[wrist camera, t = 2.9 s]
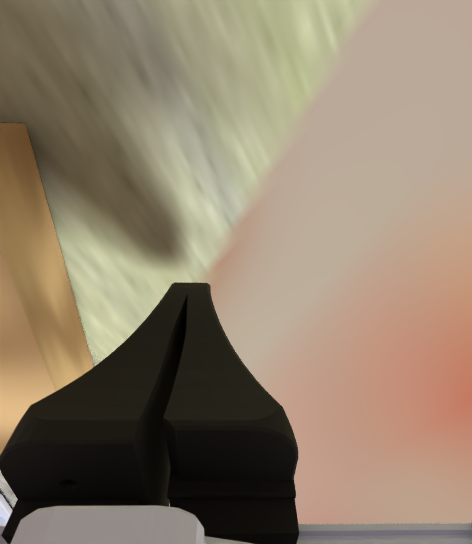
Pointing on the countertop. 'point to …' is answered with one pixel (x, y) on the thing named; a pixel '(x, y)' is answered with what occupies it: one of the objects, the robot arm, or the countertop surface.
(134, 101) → the countertop surface
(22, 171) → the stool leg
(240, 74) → the countertop surface
